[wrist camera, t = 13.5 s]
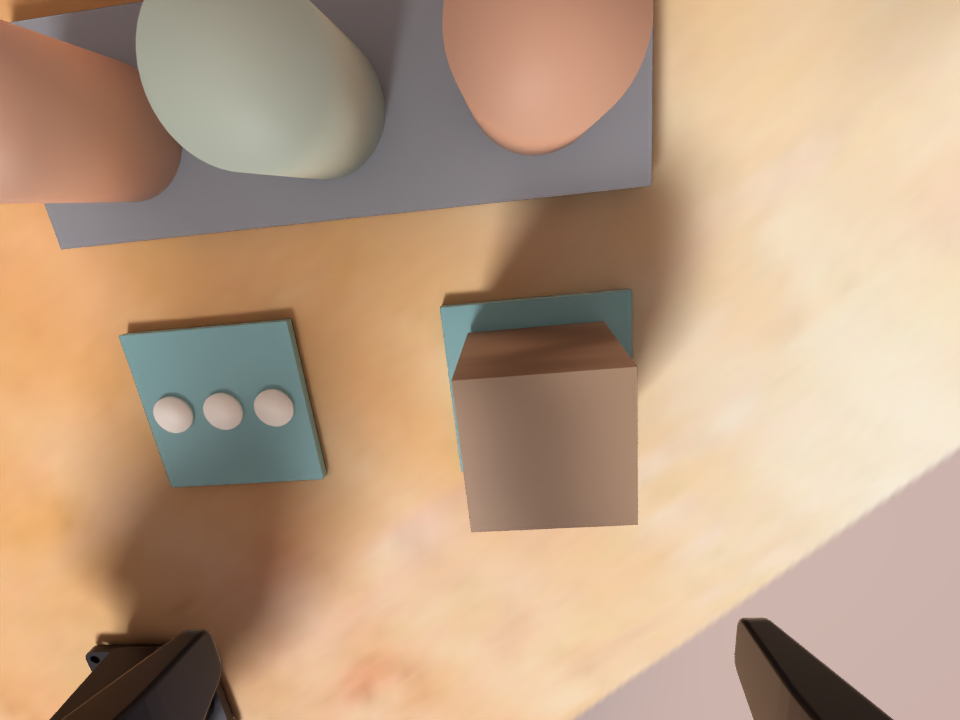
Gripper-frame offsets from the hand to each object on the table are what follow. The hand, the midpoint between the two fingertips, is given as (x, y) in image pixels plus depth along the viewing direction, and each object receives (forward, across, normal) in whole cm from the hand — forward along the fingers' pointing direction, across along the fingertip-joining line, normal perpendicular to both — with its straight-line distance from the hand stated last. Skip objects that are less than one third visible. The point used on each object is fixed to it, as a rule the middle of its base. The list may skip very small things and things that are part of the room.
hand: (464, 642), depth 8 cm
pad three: (+12, +11, 0) cm, 16 cm away
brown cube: (+11, -2, 0) cm, 11 cm away
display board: (+12, +5, -10) cm, 16 cm away
